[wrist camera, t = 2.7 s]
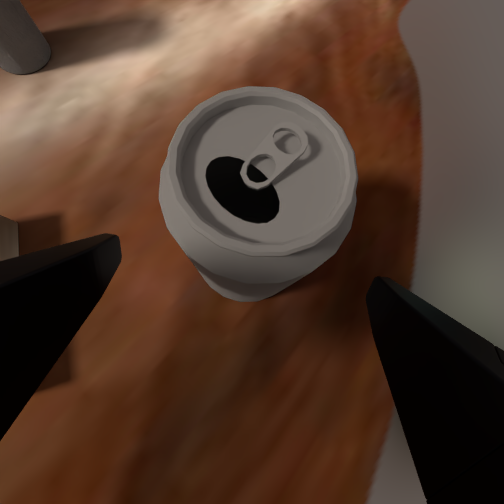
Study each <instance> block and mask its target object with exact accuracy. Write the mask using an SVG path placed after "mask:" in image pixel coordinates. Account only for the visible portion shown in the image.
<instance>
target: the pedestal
mask: <svg viewBox="0 0 504 504" xmlns="http://www.w3.org/2000/svg"><path fill="white" fill-rule="evenodd" d="M17 256H19V245H18V223H17V222H15V221H13V220H10V219H8V218H6V217H4V216H1V215H0V261H2V260H6V259H10V258H13V257H17Z"/></svg>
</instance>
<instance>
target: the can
mask: <svg viewBox="0 0 504 504" xmlns="http://www.w3.org/2000/svg"><path fill="white" fill-rule="evenodd" d="M357 182H358V174H357V167H356V159H355V153H354V151H353V149H352V147H351V145H350V143H349V141H348V139H347V137H346V135H345V132H344V130H343V129H342V128H341V127H340V126H339V125H338V123H337V122H336V121H335V120H334V119H333V118H332V117H331V116H330V115H329V114H328V113H327V112H326V111H325V110H324V109H323V108H321V107H319V106H318V105H316V104H314V103H313V102H311V101H310V100H308V99H306V98H305V97H303V96H301V95H298V94H295V93H292V92H288V91H285V90H282V89H279V88H275V87H252V86H247V87H243V88H238V89H233V90H229V91H224V92H221V93H219V94H217V95H215V96H213V97H211V98H210V99H208V100H206V101H204V102H202V103H200V104H198V105H197V106H196V107H195V108H194V109H193V110H192V111H191V112H190V113H189V114H188V115H187V116H186V118H185V119H184V120H183V121H182V122H181V123H180V124H179V126H178V128H177V130H176V132H175V134H174V136H173V139H172V141H171V143H170V145H169V147H168V156H167V158H166V160H165V162H164V164H163V167H162V169H161V176H160V189H159V201H160V205H161V208H162V212H163V215H164V219H165V222H166V226H167V229H168V230H169V231H170V233H171V234H172V236H173V237H174V238H175V240H176V241H177V242H178V244H179V245H180V247H181V248H182V249H183V251H184V252H185V254H186V255H187V256H188V258H189V259H190V260H191V262H192V263H193V264H194V266H195V267H196V268H197V270H198V271H199V273H200V274H201V275H202V277H203V278H204V279H205V281H206V282H207V283H208V285H209V286H210V287H211V288H212V289H214V290H215V291H217V292H218V293H219V294H221V295H222V296H224V297H226V298H230V299H233V300H236V301H239V302H252V301H259V300H262V299H265V298H268V297H271V296H273V295H275V294H276V293H278V292H280V291H281V290H283V289H285V288H286V287H288V286H290V285H291V284H293V283H295V282H296V281H298V280H300V279H301V278H303V277H304V276H306V275H308V274H309V273H311V272H312V271H314V270H315V269H316V268H317V267H319V266H320V265H321V264H323V263H324V262H325V261H326V260H328V259H329V258H330V257H331V256H333V255H334V254H335V253H336V252H337V250H338V248H339V247H340V245H341V244H342V242H343V240H344V239H345V237H346V236H347V234H348V232H349V231H350V229H351V226H352V221H353V216H354V211H355V207H356V202H357V200H356V192H355V191H356V187H357Z"/></svg>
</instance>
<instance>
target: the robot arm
mask: <svg viewBox="0 0 504 504" xmlns="http://www.w3.org/2000/svg"><path fill="white" fill-rule="evenodd" d="M121 258H122V255H121V247H120V240H119V237H118V236H117V235H114V234H107V233H104V234H100V235H96V236H93V237H89V238H85V239H81V240H78V241H74V242H70V243H66V244H62V245H59V246H55V247H51V248H47V249H44V250H40V251H36V252H32V253H29V254H25V255H21V256H17V257H13V258H10V259H6V260H2V261H0V441H1V439H2V438H3V436H4V435H5V434H6V432H7V431H8V429H9V428H10V427H11V425H12V424H13V422H14V421H15V419H16V418H17V417H18V415H19V414H20V412H21V411H22V409H23V408H24V407H25V405H26V404H27V402H28V401H29V400H30V398H31V397H32V395H33V394H34V392H35V391H36V390H37V388H38V387H39V385H40V384H41V383H42V381H43V380H44V378H45V377H46V375H47V374H48V373H49V371H50V370H51V368H52V367H53V365H54V364H55V363H56V361H57V360H58V358H59V357H60V356H61V354H62V353H63V351H64V350H65V348H66V347H67V346H68V344H69V343H70V341H71V340H72V339H73V337H74V336H75V334H76V333H77V331H78V330H79V329H80V327H81V326H82V324H83V323H84V321H85V320H86V319H87V317H88V316H89V314H90V313H91V312H92V310H93V309H94V307H95V306H96V304H97V303H98V302H99V300H100V299H101V297H102V295H103V294H104V292H105V290H106V288H107V286H108V285H109V283H110V281H111V279H112V277H113V275H114V273H115V272H116V270H117V268H118V266H119V264H120V262H121ZM366 304H367V309H368V314H369V318H370V323H371V328H372V333H373V337H374V341H375V344H376V347H377V350H378V354H379V357H380V360H381V363H382V366H383V369H384V372H385V375H386V378H387V381H388V384H389V387H390V390H391V394H392V397H393V400H394V403H395V406H396V409H397V412H398V415H399V418H400V421H401V424H402V427H403V431H404V433H405V437H406V440H407V443H408V446H409V449H410V452H411V455H412V458H413V461H414V464H415V467H416V470H417V474H418V477H419V480H420V483H421V486H422V489H423V492H424V495H425V498H426V499H427V501H426V502H427V504H504V351H503V350H502V349H500V348H498V347H497V346H494V345H493V344H492V343H490V342H489V341H487V340H486V339H484V338H483V337H481V336H480V335H478V334H476V333H475V332H473V331H471V330H470V329H469V328H467V327H465V326H464V325H462V324H461V323H459V322H457V321H456V320H454V319H453V318H451V317H450V316H448V315H446V314H445V313H443V312H442V311H440V310H439V309H437V308H435V307H434V306H432V305H431V304H429V303H427V302H426V301H424V300H423V299H421V298H420V297H418V296H417V295H415V294H413V293H412V292H410V291H409V290H407V289H406V288H404V287H402V286H401V285H399V284H398V283H396V282H395V281H393V280H391V279H390V278H387V277H381V276H377V277H375V278H374V280H373V282H372V284H371V286H370V288H369V290H368V292H367V295H366Z"/></svg>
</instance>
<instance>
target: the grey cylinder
mask: <svg viewBox="0 0 504 504" xmlns="http://www.w3.org/2000/svg"><path fill="white" fill-rule="evenodd" d="M50 56H51V49H50V46H49V44H48V43H47V41H46V39H45V38H44V36H43V35H42V33H41V32H40V30H39V29H38V27H37V26H36V24H35V23H34V21H33V20H32V18H31V17H30V15H29V14H28V12H27V11H26V9H25V8H24V7H23V5H22V4H21V2H20V1H19V0H0V67H1V68H2V69H4V70H5V71H7V72H10V73H14V74H28V73H32V72H35V71H37V70H39V69H41V68H42V67H43V66H44V65H45V64H46V63H47V62H48V61H49V59H50Z"/></svg>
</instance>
